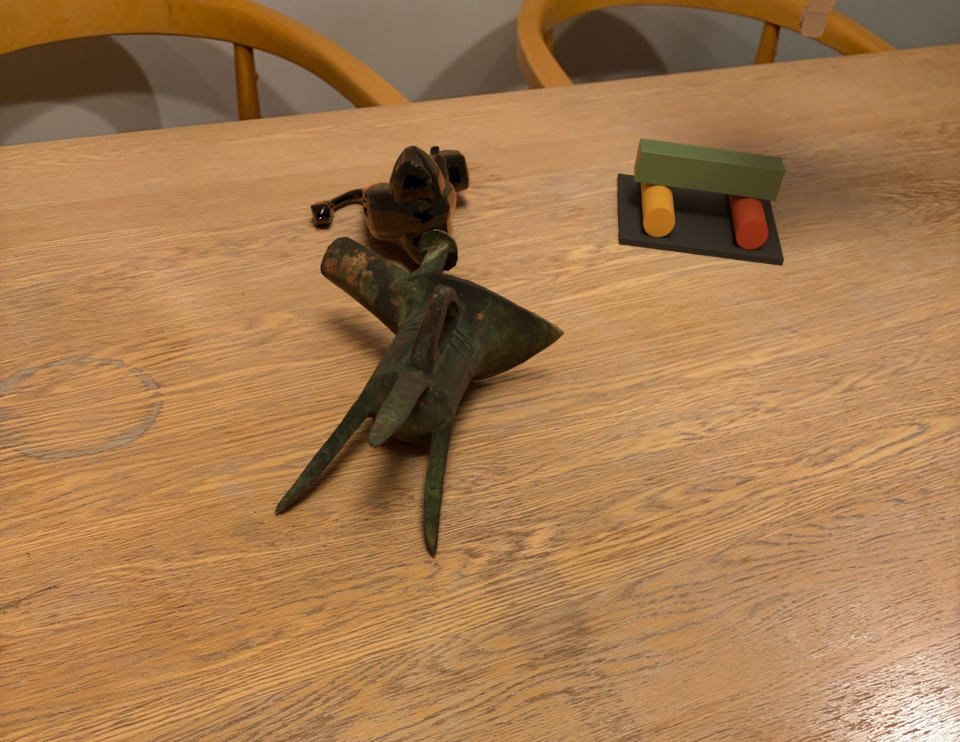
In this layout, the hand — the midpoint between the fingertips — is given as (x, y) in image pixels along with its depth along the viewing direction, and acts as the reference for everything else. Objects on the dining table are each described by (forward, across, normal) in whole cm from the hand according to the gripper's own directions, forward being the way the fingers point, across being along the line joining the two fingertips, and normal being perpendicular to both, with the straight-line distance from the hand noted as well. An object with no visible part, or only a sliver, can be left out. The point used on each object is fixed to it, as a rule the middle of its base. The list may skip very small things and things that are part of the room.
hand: (802, 14), depth 86 cm
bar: (+16, +4, +4) cm, 17 cm away
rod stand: (+20, +4, +4) cm, 21 cm away
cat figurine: (+20, -5, +34) cm, 40 cm away
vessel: (+20, -36, +29) cm, 51 cm away
